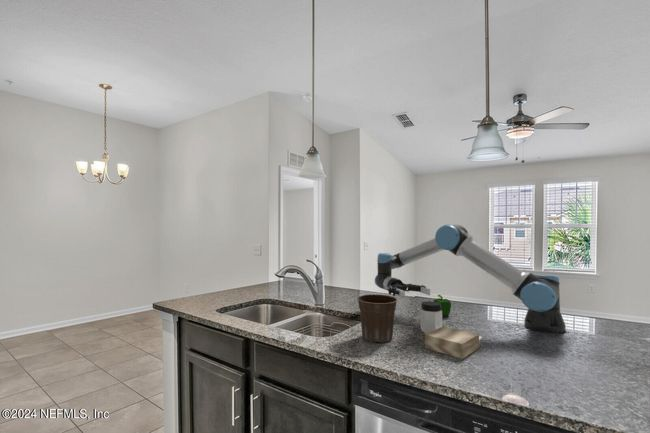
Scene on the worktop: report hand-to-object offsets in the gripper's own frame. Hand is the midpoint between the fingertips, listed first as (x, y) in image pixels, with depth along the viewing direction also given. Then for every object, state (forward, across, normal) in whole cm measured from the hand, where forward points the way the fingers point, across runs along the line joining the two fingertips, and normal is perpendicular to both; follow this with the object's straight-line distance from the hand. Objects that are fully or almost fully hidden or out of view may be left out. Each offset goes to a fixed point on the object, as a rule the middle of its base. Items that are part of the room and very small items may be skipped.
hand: (416, 293), depth 151 cm
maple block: (+29, +4, -14) cm, 32 cm away
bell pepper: (-9, -21, -15) cm, 27 cm away
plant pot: (+10, +25, -15) cm, 31 cm away
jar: (+10, 0, -14) cm, 18 cm away
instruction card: (+21, -8, -14) cm, 26 cm away
